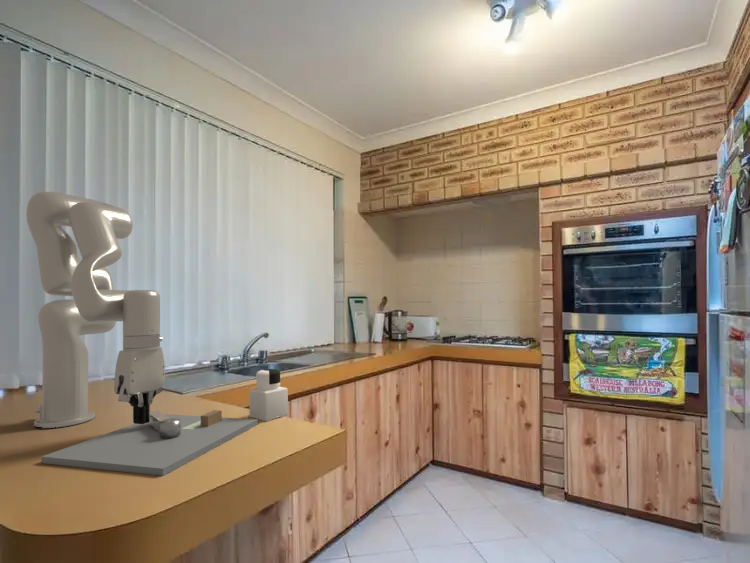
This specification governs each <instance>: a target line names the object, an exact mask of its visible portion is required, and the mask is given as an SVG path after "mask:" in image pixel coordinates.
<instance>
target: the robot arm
mask: <svg viewBox="0 0 750 563" xmlns="http://www.w3.org/2000/svg"><path fill="white" fill-rule="evenodd" d="M26 221H27V226H28V229H29V231H30V234H31V236H32V238H33V241H34V243H35V246H36V253H37V261H38V269H39V275H40V281H41V282H40V283H41V287H42V288H43V290H44V292H45V293H46V294H48V295H52V296H56V297H57V296H59V297H60V296H62V297H73V299H57V300H52V301H49V302H47V303H45V304H43V305H42V307H41V308H40V310H39V311H38V314H37V315H38V318H37V320H38V326H39V330H40V331H39V332H40V336H41V341H42V342H41V344H42V382H41V384H42V387H41V388H42V389H41V391H42V393H41V395H42V396H41V399H42V400H41V405H40V406H39V407H36V408H35V409H34V413H35V414H39V415H40V416H39V418H36V420H34V421H33V427H34V426H36V427H42V428H41V429H53V428H55V427H56V428H61V427H63V428H64V427H69V426H73V425H79V424H82V423H85V422H89V421H90V420H93V419H94V418H95V416H96V415H95V414H96V413H95V412H94V411H93V410H88V409H89V351H88V348H87V346H86V344H85V343H84V342H83V340H82V339H81V338H80V336H84V335H96V334H104V333H108V332H110V331H111V330H113V329H114V327H115V326H116V323H117V322H122V349H121V350H119V351H118V353H117V354H118V355H117V359H116V364H115V372H114V384H113V389H114V393H115V395H118V398H117V400H118V402H123V403H125V402H127V403H128V404H129V405H130V407H132V419H133V420H132V421H133V424H145V423H148V422H149V417H150V412H151V411H150V406H151V405H152V404H153V399H154V398H155V397H156V396H157V395H158V394H161V393H162V392H163V390H164V389H163V387H164V385H165V382H166V367H165V358H164V353H163V348H162V347H161V342H163V337H162V336H161V296H160V293H159V292H158V291H157V290H153V289H133V290H131V289H130V290H127V289H125V290H123V289H121V290H120V289H114V286H113V280H112V276H111V274H110V271H109V270H108V269H107V267H110V266H111V265H113V264H115V263H116V262H118V261H119V260H120V259H121V258H122V255H123V252H122V248H121V246H120V243H119V241H118V240H119V239H120V240H122V239H123V240H124V239H125V238H128V237H129V236H130V235H131V234H132V232H133V228H134V222H133V219H132V217H131V215H130V214H129V212H128V211H127V210H125V209H124V208H122V207H118V206H115V205H111V204H108V203H106V202H103V201H99V200H96V199H95V200H94V199H90V198H87V197H80V196H76V195H71V194H68V193H63V192H55V191H40V192H36V193H35V194H33V195H32V196H31V197H30V198H29V199H28V203H27V206H26ZM62 226H64V227H71V229H72V233H73V236H74V238H75V241H74V240H73V238H72V237H71V236H70V234H69V233H68V232H67V231H65V229H63V227H62ZM75 242H76V243H75ZM76 244H77V245H76ZM77 247H78V250H79V253H80V254H81V255H80V256H81V258H82V259H81V260H80V259H79V256H78V251H77ZM36 427H35V428H36Z"/></svg>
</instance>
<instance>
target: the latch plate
mask: <svg viewBox="0 0 750 563" xmlns="http://www.w3.org/2000/svg"><path fill="white" fill-rule="evenodd" d="M222 413H223V412H222V410H218V409H217V410H216V409H215V410H211V411H209V412H207V413H204V414H202V415H187V414H186V415H185V414H168V413H166V414H165V413H164V414H165V415H166V416H168V417H169V418H179V419H181V434H180V435H178V436H175V437H171V438H161V437H160V432H159V431H157V430H156V429H155V428H153V427H152V426H151V425H149V424H148V423H145V424H134V423H133V424H131V425H128V426H124V427H122V428H118V429H116V430H113V431H110V432H108V433H104V434H101V435H98V436H95V437H93V438H90V439H88V440H85V441H83V442H82V441H81V442H79V443H77V444H74V445H69V446H67V447H64V448H61V449H59V450H57V451H54V452H51V453H49V454H44V455H42V456H41V459H40V460H41V464H46V465H56V466H57V465H58V466H67V467H76V468H85V469H87V468H88V469H95V470H96V469H97V470H104V471H115V472H124V473H133V474H143V475H152V476H160V477H161V476H165V475H168V474H169V473H171V472H173V471H174V470H176V469H179V468H180V467H182V466H184V465H186V464H188V463H189V462H191V461H193V460H195V459H196V458H199V457H200V456H202V455H204V454H206V453H208V452H210V451H211V450H213V449H215V448H217V447H219V446H220V445H223V444H224V443H227V442H228V441H230V440H232V439H234V438H235V437H237V436H239V435H241V434H243V433H245V432H247V431H249V430H250V429H252V428H254V427H256V426H257V424H258V421H259V420H258V419H254V418H241V417H240V418H237V417H223V416H222V415H223V414H222ZM255 425H256V426H255ZM253 426H254V427H253ZM251 427H252V428H251ZM246 430H247V431H246Z"/></svg>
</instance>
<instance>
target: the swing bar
mask: <svg viewBox="0 0 750 563" xmlns="http://www.w3.org/2000/svg"><path fill="white" fill-rule="evenodd" d="M148 424H149V425H151V426H152V427H153V428H155V429H156V430H157V431H159V432H160V437H161V438H171V437H175V436H178V435H180V434H181V419H179V418H169V417H168V416H166V415H165V413H162V412H161V411H159V410H154V411H153V410H152V411H150V417H149V422H148Z"/></svg>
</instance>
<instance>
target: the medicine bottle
mask: <svg viewBox="0 0 750 563" xmlns="http://www.w3.org/2000/svg"><path fill="white" fill-rule="evenodd" d="M255 376H256V385H255V386H256V388H252V389H249V390H248V391H249V393H248V394H249V395H248V396H249V397H248V398H249V410H248V411H249V418H251V417H252V418H251V419H254V418H255V419H259V420H258V421H263V422H270V421H273V420H276V419H275V418H277V419H279V418H278V417H277V416H279V417H280V418H284V417H286V416H288V415H289V399H288V396H289V395H288V392H289V390H288V389H289V388H288V387H284V386H281V371H280V369H279V370H278V369H276V368H266V369H265V368H264V369H260V370H258V371H257V372H256V374H255ZM272 419H273V420H272ZM269 420H270V421H269Z"/></svg>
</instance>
